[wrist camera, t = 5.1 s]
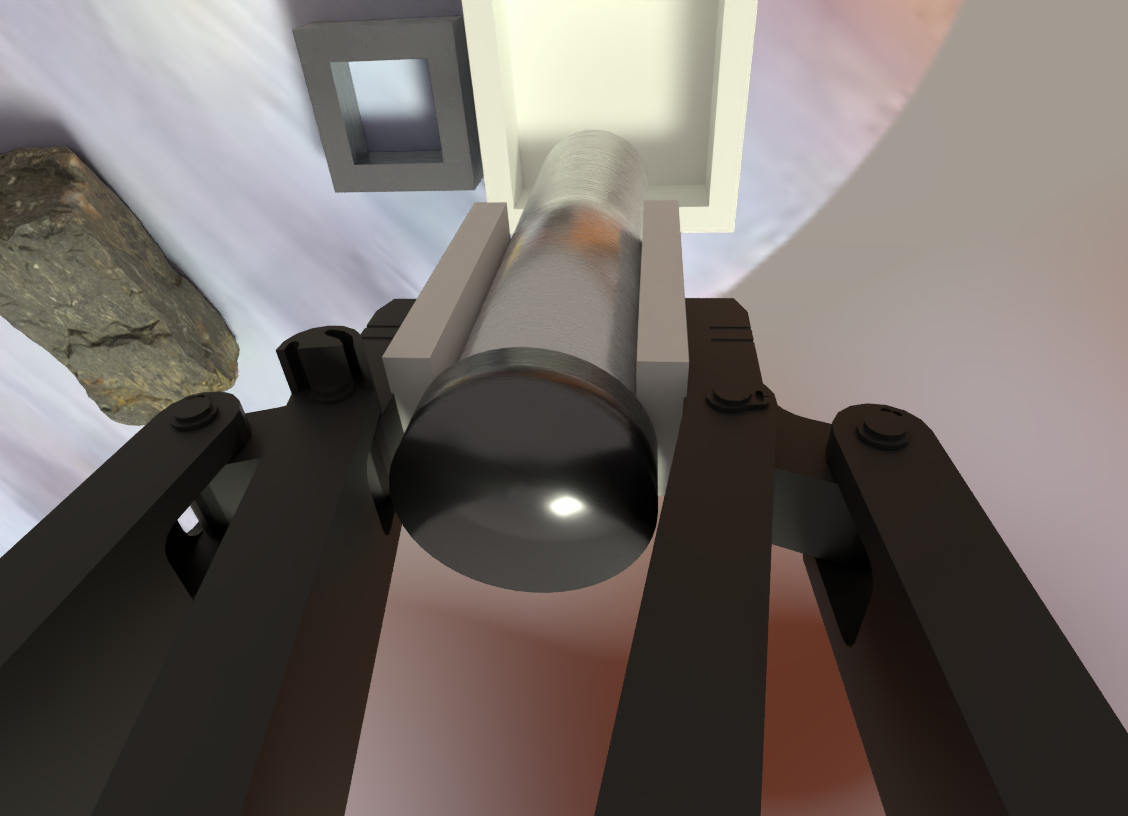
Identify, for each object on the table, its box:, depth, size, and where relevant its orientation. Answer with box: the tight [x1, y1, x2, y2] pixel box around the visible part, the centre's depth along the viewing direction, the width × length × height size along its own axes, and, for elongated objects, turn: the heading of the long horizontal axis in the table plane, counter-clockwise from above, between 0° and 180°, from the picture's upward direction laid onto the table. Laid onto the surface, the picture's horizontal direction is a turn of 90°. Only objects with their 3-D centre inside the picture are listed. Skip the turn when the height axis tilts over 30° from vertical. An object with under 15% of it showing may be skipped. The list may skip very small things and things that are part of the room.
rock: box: [0, 146, 240, 426], centre depth 36 cm, size 17×7×10 cm
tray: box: [462, 0, 758, 234], centre depth 29 cm, size 11×11×4 cm
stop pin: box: [389, 130, 658, 593], centre depth 15 cm, size 4×4×13 cm
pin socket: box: [292, 15, 483, 192], centre depth 31 cm, size 7×7×2 cm
